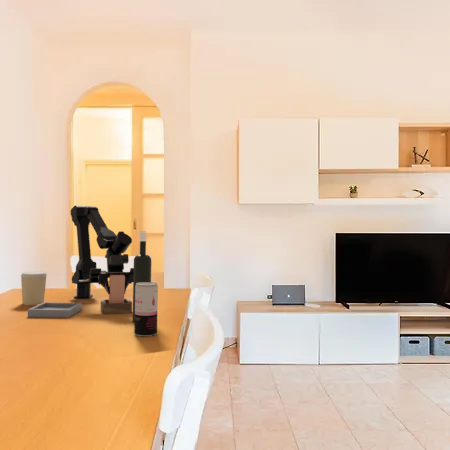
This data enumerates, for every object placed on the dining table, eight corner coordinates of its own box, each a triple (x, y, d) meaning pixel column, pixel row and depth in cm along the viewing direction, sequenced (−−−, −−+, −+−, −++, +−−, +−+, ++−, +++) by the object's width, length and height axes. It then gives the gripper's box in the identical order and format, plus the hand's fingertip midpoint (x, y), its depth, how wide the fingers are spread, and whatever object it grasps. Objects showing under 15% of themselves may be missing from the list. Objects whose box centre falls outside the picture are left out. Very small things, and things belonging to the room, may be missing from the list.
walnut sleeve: (100, 308, 171) (100, 299, 171) (128, 307, 174) (128, 298, 174) (102, 314, 161) (102, 304, 161) (132, 312, 164) (132, 303, 164)
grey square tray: (43, 309, 168) (43, 302, 168) (81, 309, 168) (81, 302, 168) (27, 316, 154) (27, 309, 154) (69, 317, 154) (69, 310, 154)
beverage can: (151, 330, 138) (152, 281, 138) (160, 335, 133) (161, 284, 133) (131, 333, 135) (132, 282, 135) (139, 338, 129) (140, 285, 129)
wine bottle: (129, 321, 150) (130, 230, 150) (143, 318, 155) (144, 230, 155) (139, 324, 147) (141, 231, 146) (153, 321, 151) (155, 231, 151)
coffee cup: (50, 301, 183) (51, 272, 183) (38, 306, 173) (39, 274, 173) (28, 300, 184) (28, 271, 184) (15, 305, 174) (16, 273, 174)
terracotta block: (108, 309, 169) (109, 274, 169) (122, 309, 171) (123, 274, 170) (109, 312, 164) (110, 276, 164) (123, 311, 166) (124, 276, 166)
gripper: (90, 246, 168) (91, 280, 157) (141, 246, 174) (145, 279, 164) (89, 266, 175) (89, 299, 165) (137, 265, 181) (141, 297, 171)
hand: (116, 293), depth 166 cm, fingers closed on terracotta block, 5 cm apart
